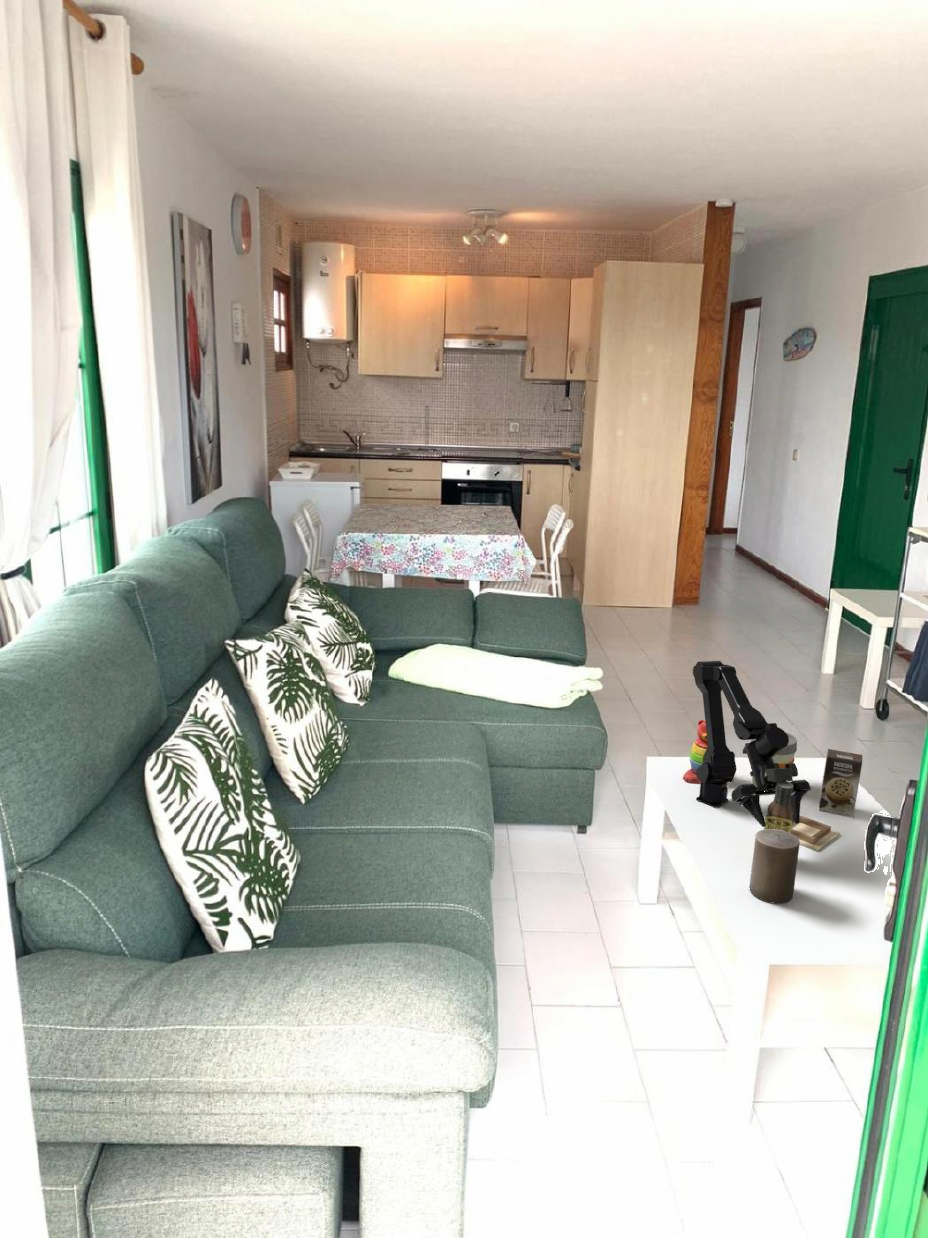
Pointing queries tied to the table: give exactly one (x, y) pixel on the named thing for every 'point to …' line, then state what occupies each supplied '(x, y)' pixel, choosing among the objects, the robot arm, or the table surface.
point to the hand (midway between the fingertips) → (781, 825)
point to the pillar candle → (774, 865)
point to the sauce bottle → (780, 808)
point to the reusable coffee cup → (784, 754)
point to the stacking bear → (697, 754)
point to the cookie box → (840, 782)
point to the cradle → (813, 833)
